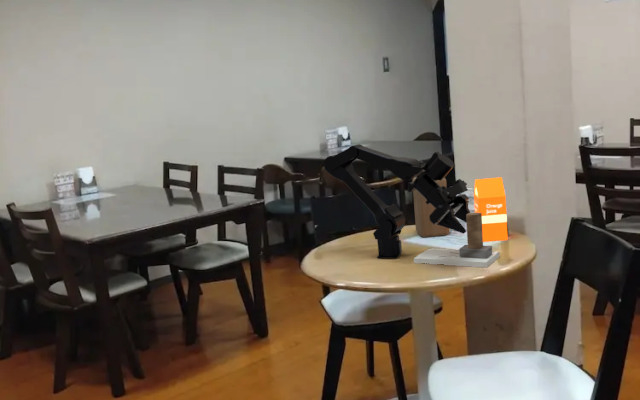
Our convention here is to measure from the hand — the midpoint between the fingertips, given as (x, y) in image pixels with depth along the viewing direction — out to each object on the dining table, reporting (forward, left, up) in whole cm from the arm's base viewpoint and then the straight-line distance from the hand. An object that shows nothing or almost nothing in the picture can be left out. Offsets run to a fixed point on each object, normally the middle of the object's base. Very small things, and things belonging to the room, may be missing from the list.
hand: (470, 228), depth 194 cm
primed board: (-5, +1, -9) cm, 11 cm away
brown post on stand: (+1, 0, -8) cm, 8 cm away
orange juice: (+3, +28, -10) cm, 29 cm away
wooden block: (-18, +36, -10) cm, 41 cm away
